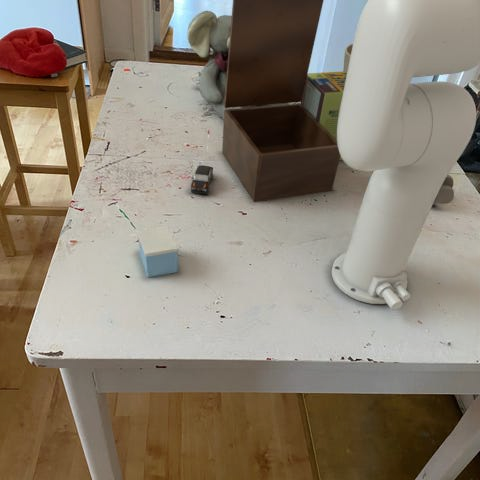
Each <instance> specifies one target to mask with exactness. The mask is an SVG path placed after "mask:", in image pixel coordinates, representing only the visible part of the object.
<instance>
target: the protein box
mask: <svg viewBox="0 0 480 480" xmlns="http://www.w3.org/2000/svg"><path fill="white" fill-rule="evenodd" d="M346 76H347V71H345V72H343V71H330V72H329V71H328V72H310V73H309V72H308V74H307V78H306V83H305V87H304V92H303V96H302V101H301V102H300V104H301V105H302V106H303V107H304V108H305V109H306V110H307V111H308V112H309V113H310V114H311V115H312V116H313V117H314V118H315V119H316V120H317V121H318V122H319V123H320V124H321V125H322V126H323V127H324V128H325V129H326V130H327V131H328V132H329V133H330V134H331V135H332V136H333V137H334V138H335V139H336V140H337V124H338V117H339V111H340V106H341V101H342V96H343V91H344V86H345V81H346ZM341 161H343V159H342V157H341V156H340V160H339V162H341Z"/></svg>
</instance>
